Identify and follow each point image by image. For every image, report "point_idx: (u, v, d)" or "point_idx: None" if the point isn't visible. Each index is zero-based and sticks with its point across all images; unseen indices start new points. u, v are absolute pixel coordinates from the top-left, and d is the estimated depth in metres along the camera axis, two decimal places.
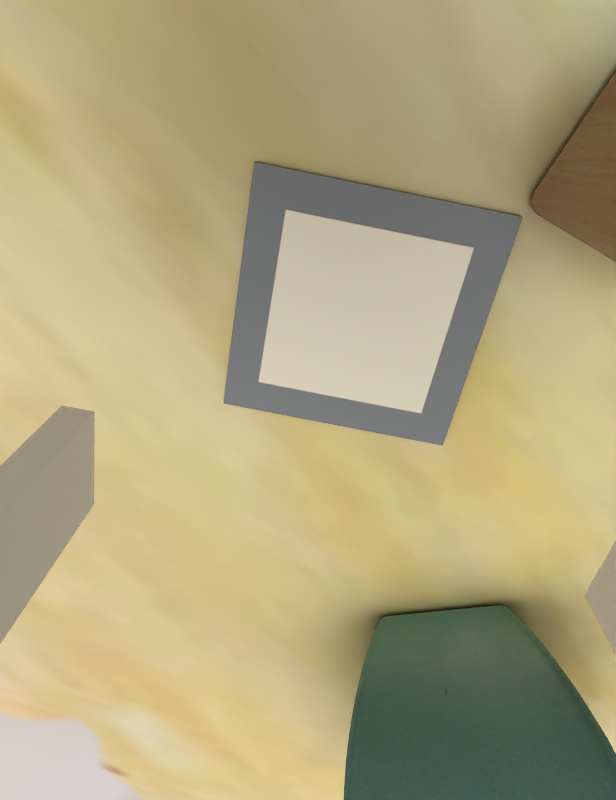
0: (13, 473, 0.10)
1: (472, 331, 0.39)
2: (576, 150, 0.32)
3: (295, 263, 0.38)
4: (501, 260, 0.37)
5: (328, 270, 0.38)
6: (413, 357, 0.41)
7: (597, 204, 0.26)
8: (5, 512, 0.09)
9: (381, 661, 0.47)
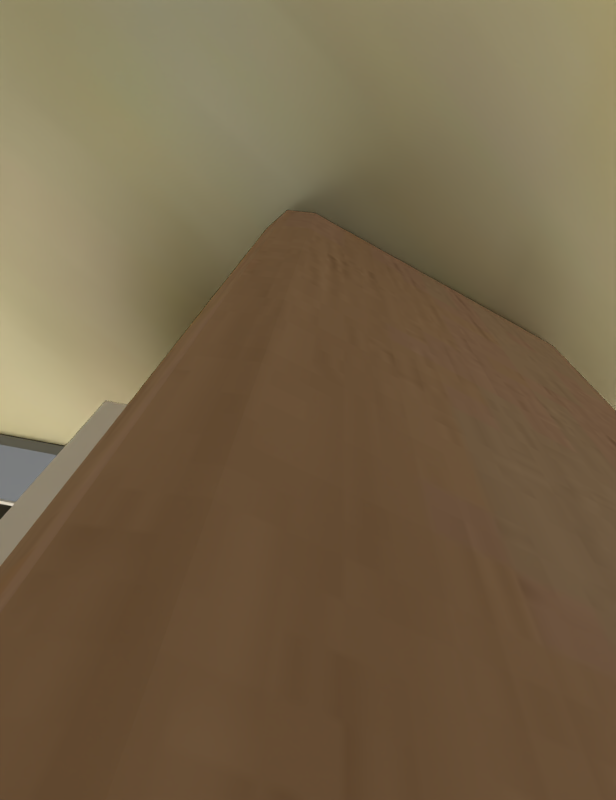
0: (68, 463, 0.11)
1: None
2: None
3: None
4: None
5: None
6: None
7: None
8: None
9: None
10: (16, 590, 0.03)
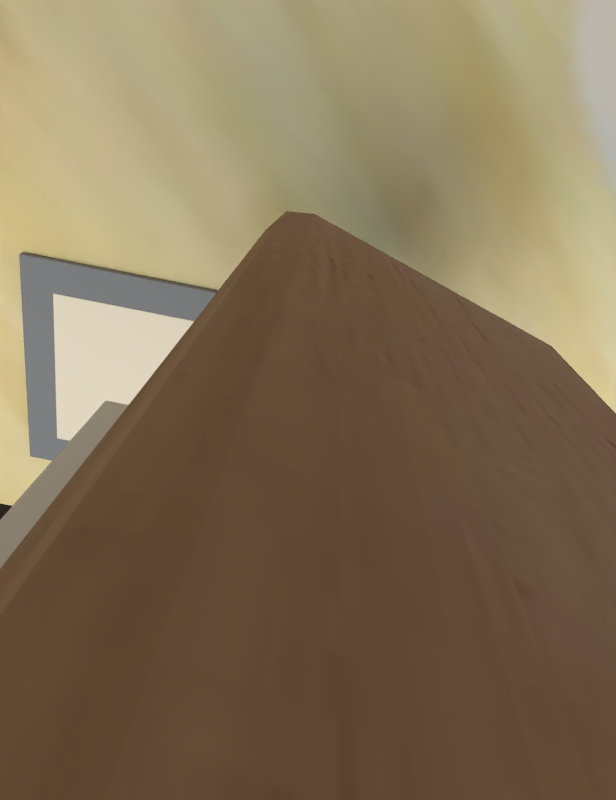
0: (69, 463, 0.11)
1: None
2: None
3: (71, 338, 0.43)
4: None
5: (99, 344, 0.43)
6: None
7: None
8: None
9: None
10: (16, 591, 0.03)
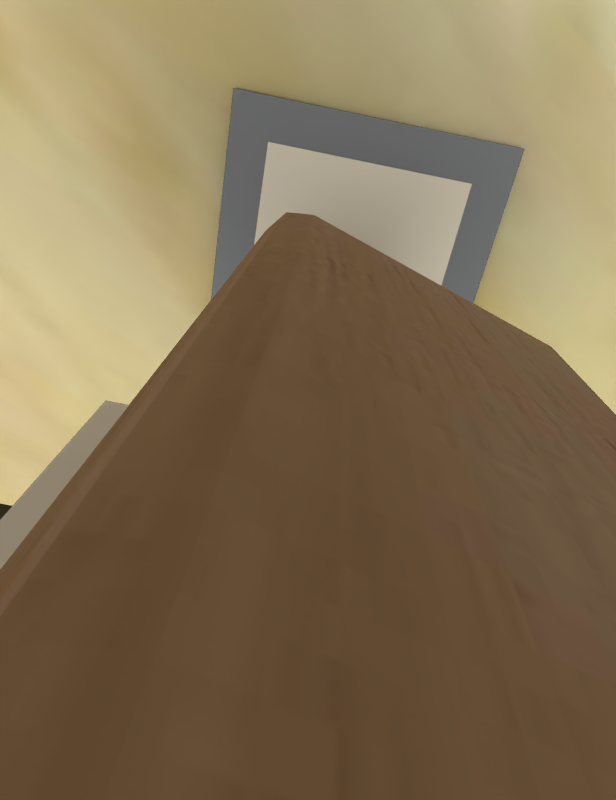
0: (69, 463, 0.11)
1: (470, 278, 0.37)
2: None
3: (279, 203, 0.35)
4: (501, 198, 0.34)
5: (315, 209, 0.35)
6: None
7: None
8: None
9: None
10: (13, 597, 0.03)
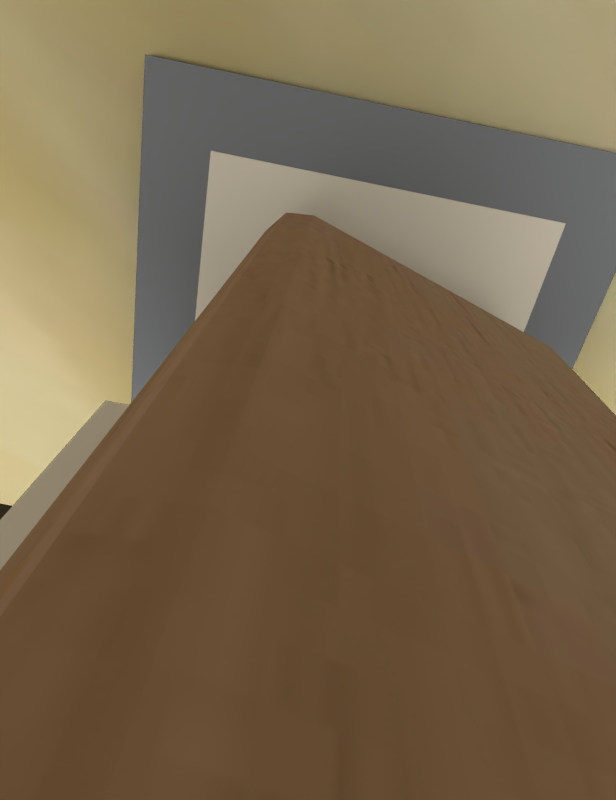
0: (69, 463, 0.11)
1: None
2: None
3: (235, 254, 0.21)
4: (615, 248, 0.20)
5: None
6: None
7: None
8: None
9: None
10: (13, 599, 0.03)
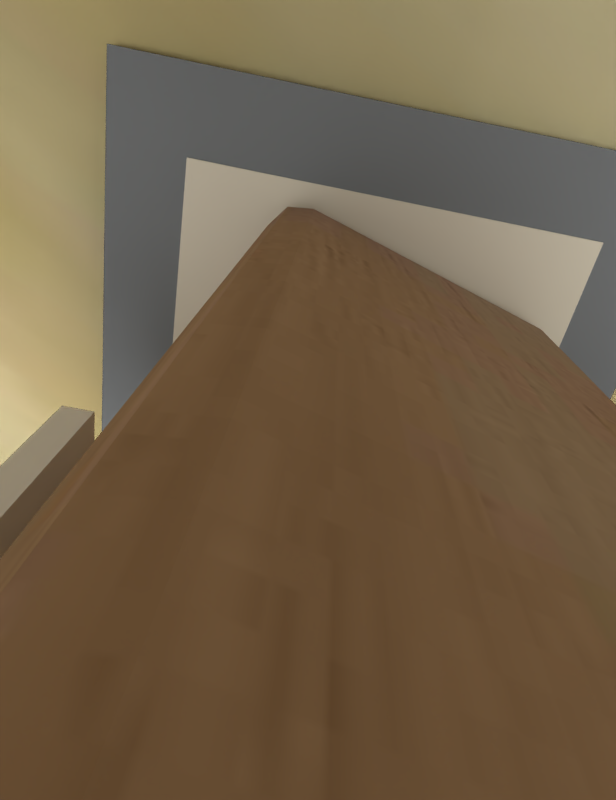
0: (13, 473, 0.10)
1: None
2: None
3: (217, 276, 0.18)
4: None
5: None
6: None
7: None
8: (5, 512, 0.09)
9: None
10: (90, 472, 0.04)
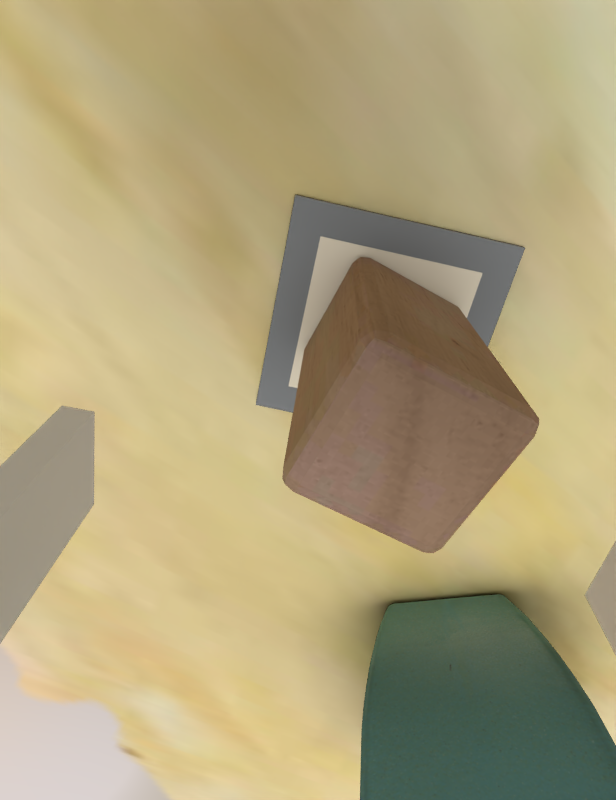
0: (13, 473, 0.10)
1: None
2: (319, 329, 0.42)
3: (326, 283, 0.43)
4: (505, 284, 0.43)
5: None
6: None
7: (298, 391, 0.36)
8: (5, 512, 0.09)
9: (391, 641, 0.52)
10: (368, 305, 0.29)
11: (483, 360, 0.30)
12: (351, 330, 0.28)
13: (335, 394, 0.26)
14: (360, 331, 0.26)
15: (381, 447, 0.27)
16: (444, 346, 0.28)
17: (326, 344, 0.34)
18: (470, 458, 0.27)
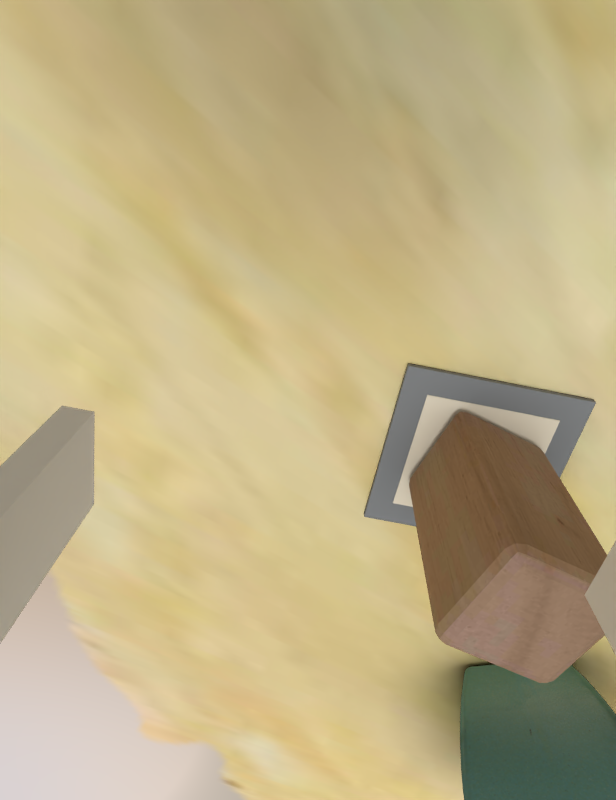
0: (13, 473, 0.10)
1: None
2: (427, 471, 0.51)
3: (430, 428, 0.53)
4: (579, 428, 0.52)
5: None
6: None
7: (423, 537, 0.46)
8: (5, 512, 0.09)
9: (476, 705, 0.62)
10: (497, 502, 0.39)
11: (582, 536, 0.40)
12: (487, 524, 0.38)
13: (484, 585, 0.36)
14: (501, 537, 0.36)
15: (516, 618, 0.36)
16: (557, 536, 0.38)
17: (450, 507, 0.44)
18: (581, 626, 0.36)
